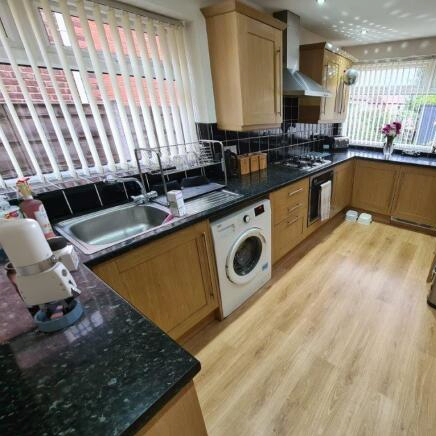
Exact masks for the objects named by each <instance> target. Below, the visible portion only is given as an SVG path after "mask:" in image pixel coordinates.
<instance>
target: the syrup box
mask: <svg viewBox="0 0 436 436" xmlns="http://www.w3.org/2000/svg"><path fill="white" fill-rule="evenodd" d="M166 195H167V199H168V204H169V208H170V213H171V216H172V217H179V218H180V217H182V216H184V215H185V214H186V208H185V202H184V197H183V193H182V190H177V189H176V190H175V189H173V190H170V191H168V192H166ZM183 213H184V214H183Z"/></svg>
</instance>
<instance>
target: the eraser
mask: <svg viewBox="0 0 436 436" xmlns="http://www.w3.org/2000/svg"><path fill="white" fill-rule="evenodd" d="M61 309H62V305H61V306H58V307H57V309H56V310H55V311H54V312H53V315H52V316H51V318H50V319H51V320H55V319H58V318H60V317H62V316H64V314H63V312H62V310H61Z"/></svg>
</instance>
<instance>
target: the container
mask: <svg viewBox="0 0 436 436" xmlns="http://www.w3.org/2000/svg"><path fill="white" fill-rule="evenodd" d="M47 242H48V245H49V247H50V249H51V251H52V253H53V254H54V255H55V257H61V261H60V262H61V263H62V264H63V265H64V266H65V267H66V269H67V270H68V271H69V273H70V272H73V271H77V270H78V265H79V258H78V255H77V253H76V250H75V248H74V246H73V245H72V244H70V245H68V242H67V240H66V238H65V237H64V236H56V237H52V238H49V239H47Z"/></svg>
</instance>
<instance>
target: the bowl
mask: <svg viewBox="0 0 436 436" xmlns="http://www.w3.org/2000/svg"><path fill="white" fill-rule="evenodd" d="M51 305H55V307H56V309H57V307H58V306H61V303H60V302H59V300H57V301H52V302H51ZM71 305H72V307H73V310H72V311H71V312H69V313H68V314H66V315H64V316H62V317H60V318H58V319H55V320H52V321H50V319H48V317H47V315H46V313H43V312H41V310H38V311H37V312H36V313H35V315H34V316H33V322H34V323H35V326H36V327H37V329H38V330H39V331H40V332H41V333H42V332H43V333H53V332H56V331H60V330H63V329H65V328H67V327H69V326H71V325H73V324H74V323H75V322H76V321H77V320H78V319H80V317H81V316H82V314H83V312H84V309H83V306H82V304H81V301H80V300H79V299H78V298H75V299H73V301H72V302H71Z"/></svg>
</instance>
